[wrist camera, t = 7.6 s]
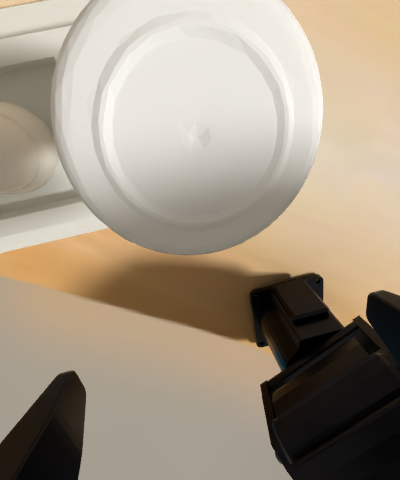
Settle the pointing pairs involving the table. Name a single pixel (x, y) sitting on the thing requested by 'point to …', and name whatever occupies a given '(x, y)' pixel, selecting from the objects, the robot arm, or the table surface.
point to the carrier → (38, 101)
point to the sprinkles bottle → (186, 118)
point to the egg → (24, 150)
